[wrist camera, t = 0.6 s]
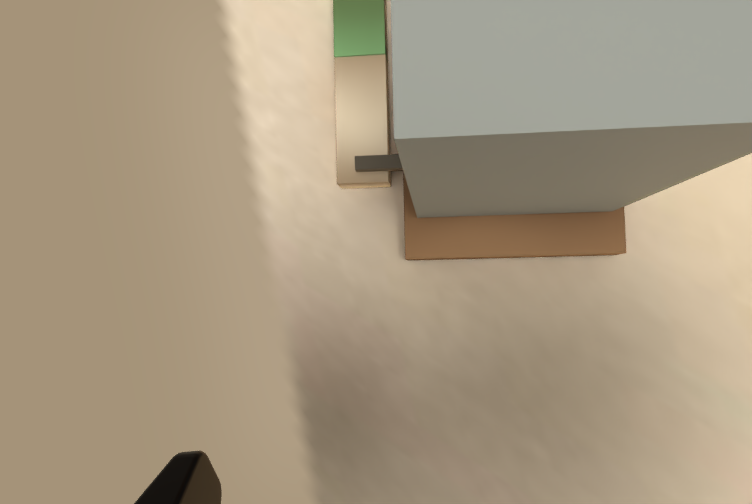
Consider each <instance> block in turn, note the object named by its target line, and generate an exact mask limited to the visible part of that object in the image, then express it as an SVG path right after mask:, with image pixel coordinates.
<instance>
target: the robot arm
mask: <svg viewBox="0 0 752 504" xmlns="http://www.w3.org/2000/svg"><path fill="white" fill-rule="evenodd" d="M134 504H221V484H220V481H219V479H218V477H217V475H216V473H215V471H214V468H213V467H212V464H211V463H210V460H209V458H208V456H207V455H206V454H205V453H204V452H202V451H191V452H182V453H178V454H177V455H175V456H174V457H173V458H172V459H171V460H170V462H169V463H168V464H167V465H166V466H165V467H164V469H163V470H162V471H161V472H160V473H159V475H158V476H157V477H156V478H155V479H154V481H153V482H152V483H151V484H150V485H149V487H148V488H147V489H146V490H145V491H144V493H143V494H142V495H141V496H140V497H139V499H138V500H137V501H136V502H135V503H134Z"/></svg>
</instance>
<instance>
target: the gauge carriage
mask: <svg viewBox="0 0 752 504" xmlns="http://www.w3.org/2000/svg"><path fill="white" fill-rule="evenodd" d="M391 33H392V75H393V117H394V141H395V144H396V147H397V151H398V154H391V155H368V156H355V171H356V172H375V171H400V170H403V171H404V175H405V178H406V181H407V185H408V188H409V191H410V195H411V198H412V202H413V205H414V208H415V212H416V215H417V218H426V217H456V216H486V215H516V214H547V213H577V212H607V211H614V210H617V209H619V208H621V207H624V206H626V205H629V204H631V203H633V202H636V201H638V200H641V199H643V198H645V197H648V196H650V195H652V194H655V193H657V192H660V191H662V190H664V189H667V188H669V187H672V186H674V185H676V184H679V183H681V182H683V181H686V180H688V179H691V178H693V177H695V176H698V175H700V174H703V173H705V172H707V171H710V170H712V169H714V168H717V167H719V166H722V165H724V164H726V163H729V162H731V161H734V160H736V159H738V158H741V157H743V156H745V155H748V154H750V153H752V0H391Z"/></svg>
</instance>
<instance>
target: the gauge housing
mask: <svg viewBox="0 0 752 504" xmlns="http://www.w3.org/2000/svg"><path fill="white" fill-rule="evenodd" d="M333 15H334V57H335V103H336V159H337V184H338V185H339V186H340V187H341V188H342V189H346V188H372V187H391V177H390V171H375V172H356V171H355V156H368V155H390V134H389V91H388V48H387V5H386V0H333ZM403 181H404V222H405V259H406V260H443V259H482V258H521V257H559V256H598V255H617V254H623V253H626V239H625V217H624V207H621V208H619V209H617V210H614V211H607V212H577V213H547V214H516V215H486V216H456V217H426V218H417V215H416V212H415V208H414V205H413V202H412V198H411V195H410V191H409V188H408V185H407V181H406V178H405V175H404V171H403Z"/></svg>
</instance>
